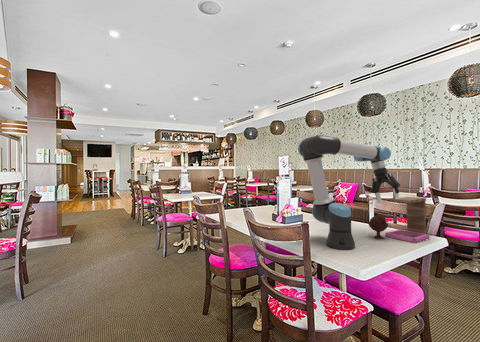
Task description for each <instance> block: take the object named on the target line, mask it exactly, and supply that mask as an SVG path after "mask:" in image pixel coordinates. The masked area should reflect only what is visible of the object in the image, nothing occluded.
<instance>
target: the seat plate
mask: <svg viewBox="0 0 480 342" xmlns="http://www.w3.org/2000/svg"><path fill="white" fill-rule="evenodd" d="M384 234H385V237H386V238H391V239H395V240H398V241H403V242H408V243H413V244H418V243H421V242H424V241H427V240H426V239H428V240H430V239H431V238H430V234H427V233H426V234H423V233H417V232H412V231H407V230H405V229H396V230H395V229H394V230H391V231H387V232H384ZM429 238H430V239H429ZM423 240H424V241H423ZM420 241H421V242H420ZM417 242H418V243H417Z"/></svg>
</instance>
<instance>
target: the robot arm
mask: <svg viewBox="0 0 480 342" xmlns="http://www.w3.org/2000/svg"><path fill="white" fill-rule="evenodd" d="M297 149H298V150H297V151H298V153H299V155H301V157H302V158H303V161H304V162H305V163H306V164H307V169H308V174H309V179H310V183H311V187H312V193H313V197H314V201H313V202H312V205H313V206H312V208H311V215H312V217H313V218H314V219H315V220H316V221H317V222H320V223H324V224H328V227H329V231H328V235H327V239H326V241H325V242H326V246H327V247H329V248H332V249H336V250H343V251H344V250H345V251H347V250H353V249H355V248H356V242H355V240H354V236H353V233H352V209H351V206H349V205H348V204H344V203H337V202H336V203H335V202H334V203H333V199H332V198H330V194H329V190H328V187H327V181H326V177H325V171H324V168H323V167H324V166H323V163H322V159H323V158H324V155H333V156H334V155H338V154H339V155H344V156H352V157H353V159H354V160H355V162H360V163H361V162H370V164H371V168H372V171H373V174H374V176H375V178H372V187H371V193H372V194H374V197H375V198H376V200H377V201H376V202H377V204H378V203H383V200H382V197H381V196H382V195H381V192H379V191H380V188H381V186H382V184H384V183H387V185H389V186H390V187H391V188H392V192H393V195H394V198H395V199H400V198H401V197H400V191H399V187H400V186H401V184H400V183H399V182H398V180H397V179H396V178H395V176H393V174H392V173H391V172H389V173H388V170H387V168H386V163H385V160H389V159H390V158H391V155H392V151H391V150H390V148H389V147H387V146H385V147H383V146H382V147H380V146H379V145H372V146H371V145H366V144H360V143H357V142H356V143H355V142H351V141H346V140H345V141H344V140H341V139H340V138H338V137H335V136H328V135H325V134H324V135H322V134H318V135H314V136H310V137H306V138H303V139H302V140H301V141H300V142H299V143H298V145H297Z"/></svg>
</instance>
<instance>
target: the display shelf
mask: <svg viewBox="0 0 480 342" xmlns="http://www.w3.org/2000/svg"><path fill="white" fill-rule="evenodd" d="M426 201H427V197H417V196H403V197H402V196H401V197H400V199H395V197H394V198H390V202H392V203H393V202H394V203H395V202H396V203H406V229H407V230H406V231H412V232H417V233H423V234H427V215H426V214H427V213H426V211H427V210H426Z"/></svg>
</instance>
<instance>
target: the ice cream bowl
mask: <svg viewBox="0 0 480 342" xmlns="http://www.w3.org/2000/svg"><path fill="white" fill-rule="evenodd" d="M367 224H368V227H369V228H370V229H371V230H373V231H375V232H376V235H374V236H373V238H374V239H376V240H384V237H383V236H381V232H384V231H386V230H387V228H388V226H389V223H388V222H387V218H386V216H385V215H384V214H376V215H375V216H372V217H371V218H370V219H369V221H368V222H367Z"/></svg>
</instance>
